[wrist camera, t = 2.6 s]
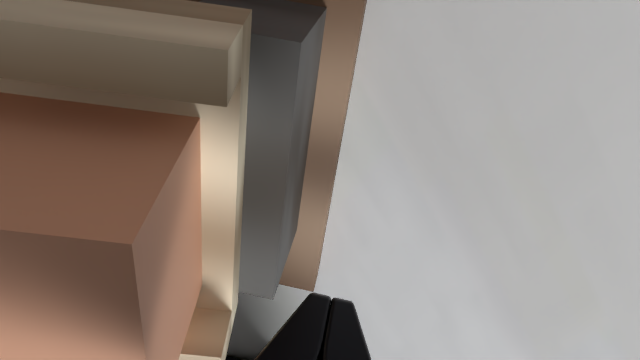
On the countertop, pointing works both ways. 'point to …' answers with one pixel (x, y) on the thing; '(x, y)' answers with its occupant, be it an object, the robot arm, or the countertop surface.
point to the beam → (153, 105)
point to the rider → (97, 230)
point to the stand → (293, 134)
